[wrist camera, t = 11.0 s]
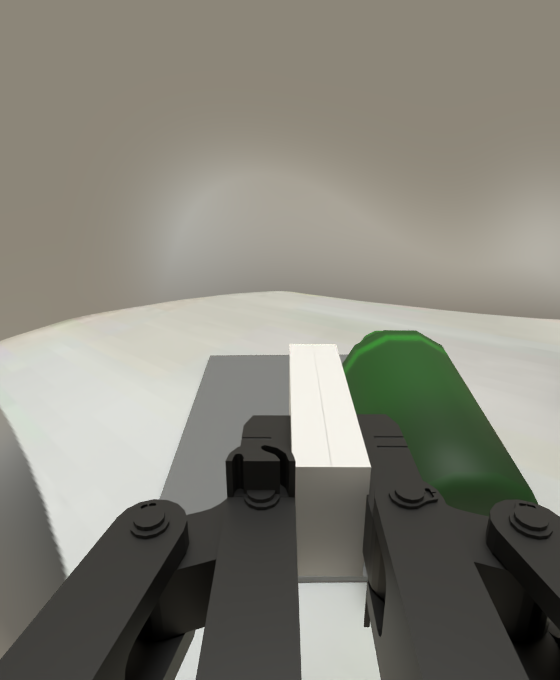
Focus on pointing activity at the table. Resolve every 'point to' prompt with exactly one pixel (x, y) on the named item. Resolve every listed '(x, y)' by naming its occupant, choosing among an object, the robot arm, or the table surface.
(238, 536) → the robot arm
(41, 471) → the table surface
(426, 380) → the bottle
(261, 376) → the mat
